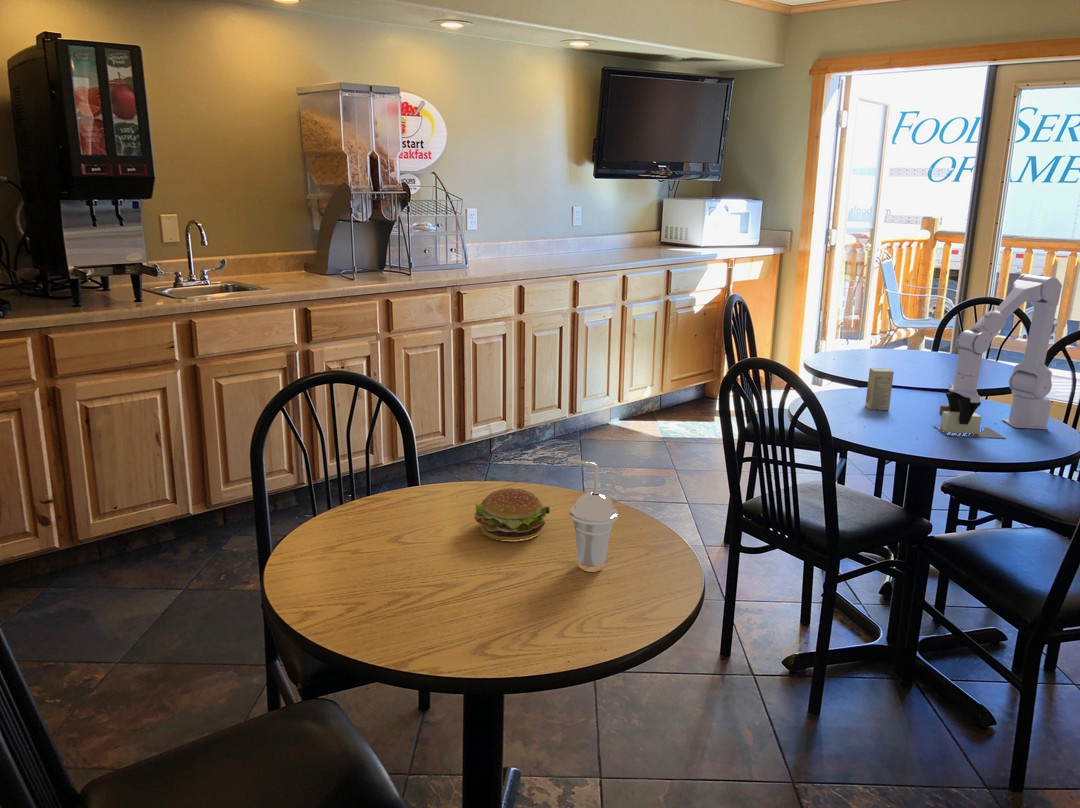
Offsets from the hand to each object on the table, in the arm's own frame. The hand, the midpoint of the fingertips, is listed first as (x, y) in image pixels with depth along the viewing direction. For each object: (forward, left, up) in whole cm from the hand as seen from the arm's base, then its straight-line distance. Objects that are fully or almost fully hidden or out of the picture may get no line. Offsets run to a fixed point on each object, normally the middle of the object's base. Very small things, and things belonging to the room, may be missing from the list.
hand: (958, 421), depth 235 cm
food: (+120, +83, -3) cm, 146 cm away
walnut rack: (-6, -16, -3) cm, 18 cm away
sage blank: (0, 0, -3) cm, 3 cm away
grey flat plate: (-3, 0, -3) cm, 4 cm away
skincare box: (+15, -22, -3) cm, 27 cm away
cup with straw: (+105, +96, -3) cm, 142 cm away
